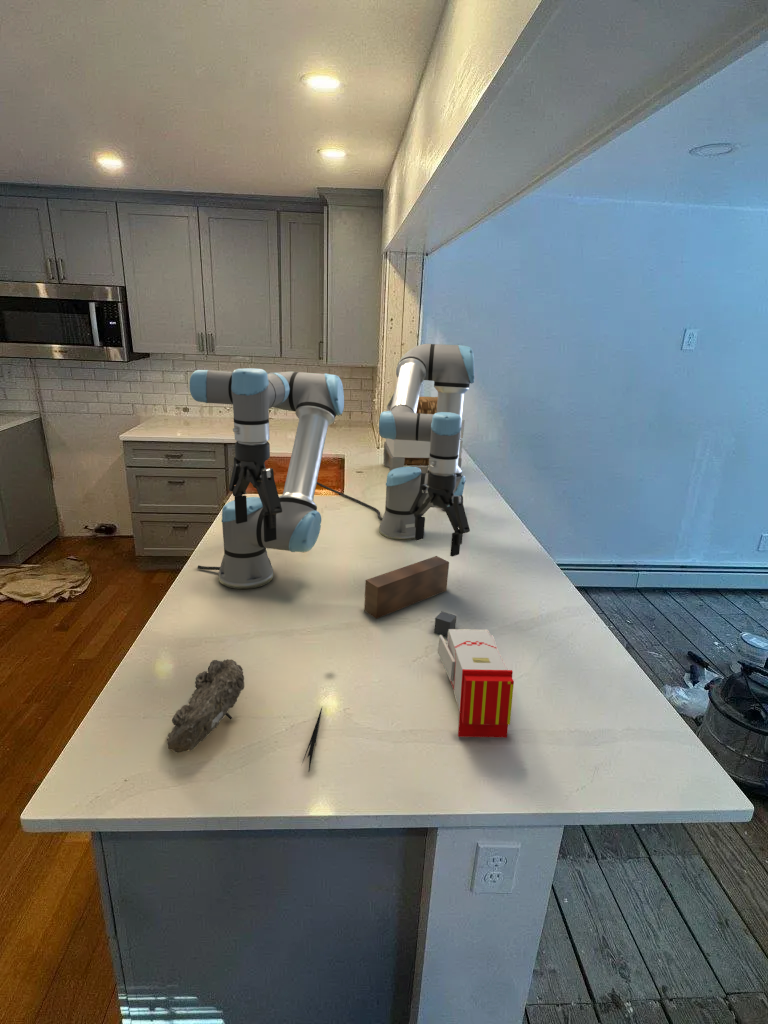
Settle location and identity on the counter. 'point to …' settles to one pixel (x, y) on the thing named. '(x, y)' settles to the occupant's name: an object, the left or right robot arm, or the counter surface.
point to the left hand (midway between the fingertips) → (255, 531)
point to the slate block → (444, 623)
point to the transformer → (413, 442)
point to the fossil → (206, 705)
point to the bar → (405, 586)
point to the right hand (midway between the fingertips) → (436, 547)
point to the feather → (313, 740)
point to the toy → (478, 682)
